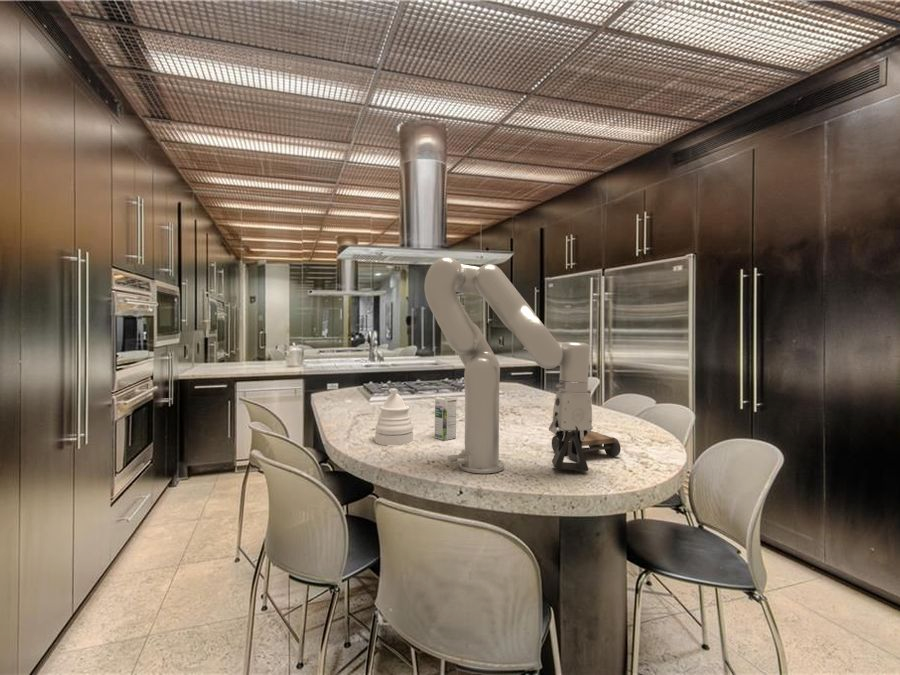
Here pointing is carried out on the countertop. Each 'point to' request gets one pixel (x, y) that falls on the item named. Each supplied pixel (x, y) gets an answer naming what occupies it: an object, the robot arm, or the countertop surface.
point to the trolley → (592, 443)
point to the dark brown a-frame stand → (560, 454)
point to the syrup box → (445, 418)
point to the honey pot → (394, 422)
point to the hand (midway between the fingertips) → (569, 453)
